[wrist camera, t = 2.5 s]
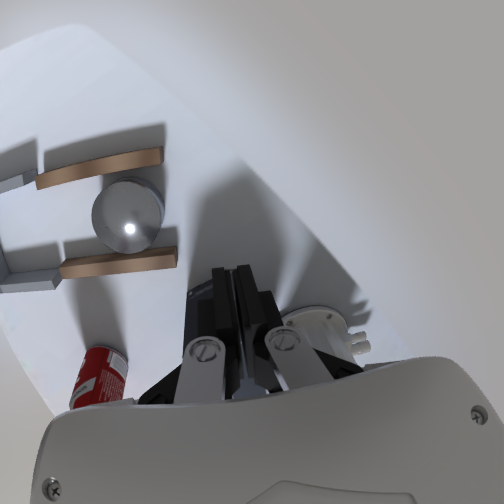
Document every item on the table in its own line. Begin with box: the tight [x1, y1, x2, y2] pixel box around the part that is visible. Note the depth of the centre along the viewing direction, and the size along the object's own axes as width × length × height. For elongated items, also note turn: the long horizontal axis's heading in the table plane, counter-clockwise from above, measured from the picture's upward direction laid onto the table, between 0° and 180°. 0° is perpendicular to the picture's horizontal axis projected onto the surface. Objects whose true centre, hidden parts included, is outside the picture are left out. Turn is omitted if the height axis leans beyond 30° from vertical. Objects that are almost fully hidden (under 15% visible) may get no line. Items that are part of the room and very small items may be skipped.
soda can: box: [69, 346, 128, 410], centre depth 29 cm, size 7×7×12 cm
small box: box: [182, 270, 266, 399], centre depth 29 cm, size 11×6×10 cm, turn 27°
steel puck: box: [91, 177, 165, 254], centre depth 25 cm, size 7×7×3 cm
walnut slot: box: [35, 146, 178, 279], centre depth 25 cm, size 14×12×2 cm
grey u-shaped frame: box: [0, 169, 63, 293], centre depth 23 cm, size 11×13×3 cm
